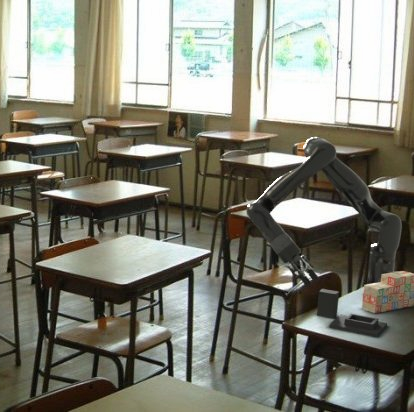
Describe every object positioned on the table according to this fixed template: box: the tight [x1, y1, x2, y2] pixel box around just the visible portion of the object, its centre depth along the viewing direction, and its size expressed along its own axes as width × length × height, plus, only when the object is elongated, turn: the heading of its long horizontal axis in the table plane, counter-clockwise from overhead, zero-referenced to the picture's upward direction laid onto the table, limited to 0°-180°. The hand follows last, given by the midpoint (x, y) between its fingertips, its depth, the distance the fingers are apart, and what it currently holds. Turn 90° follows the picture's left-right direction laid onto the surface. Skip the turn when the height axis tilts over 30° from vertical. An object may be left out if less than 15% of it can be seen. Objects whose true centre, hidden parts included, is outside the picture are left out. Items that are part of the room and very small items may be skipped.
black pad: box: [316, 288, 340, 320], centre depth 310 cm, size 4×6×9 cm, turn 57°
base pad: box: [328, 313, 388, 338], centre depth 299 cm, size 14×16×3 cm
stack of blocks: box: [361, 270, 414, 314], centre depth 321 cm, size 21×6×12 cm, turn 121°
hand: (313, 283), depth 312 cm, fingers open, 8 cm apart
